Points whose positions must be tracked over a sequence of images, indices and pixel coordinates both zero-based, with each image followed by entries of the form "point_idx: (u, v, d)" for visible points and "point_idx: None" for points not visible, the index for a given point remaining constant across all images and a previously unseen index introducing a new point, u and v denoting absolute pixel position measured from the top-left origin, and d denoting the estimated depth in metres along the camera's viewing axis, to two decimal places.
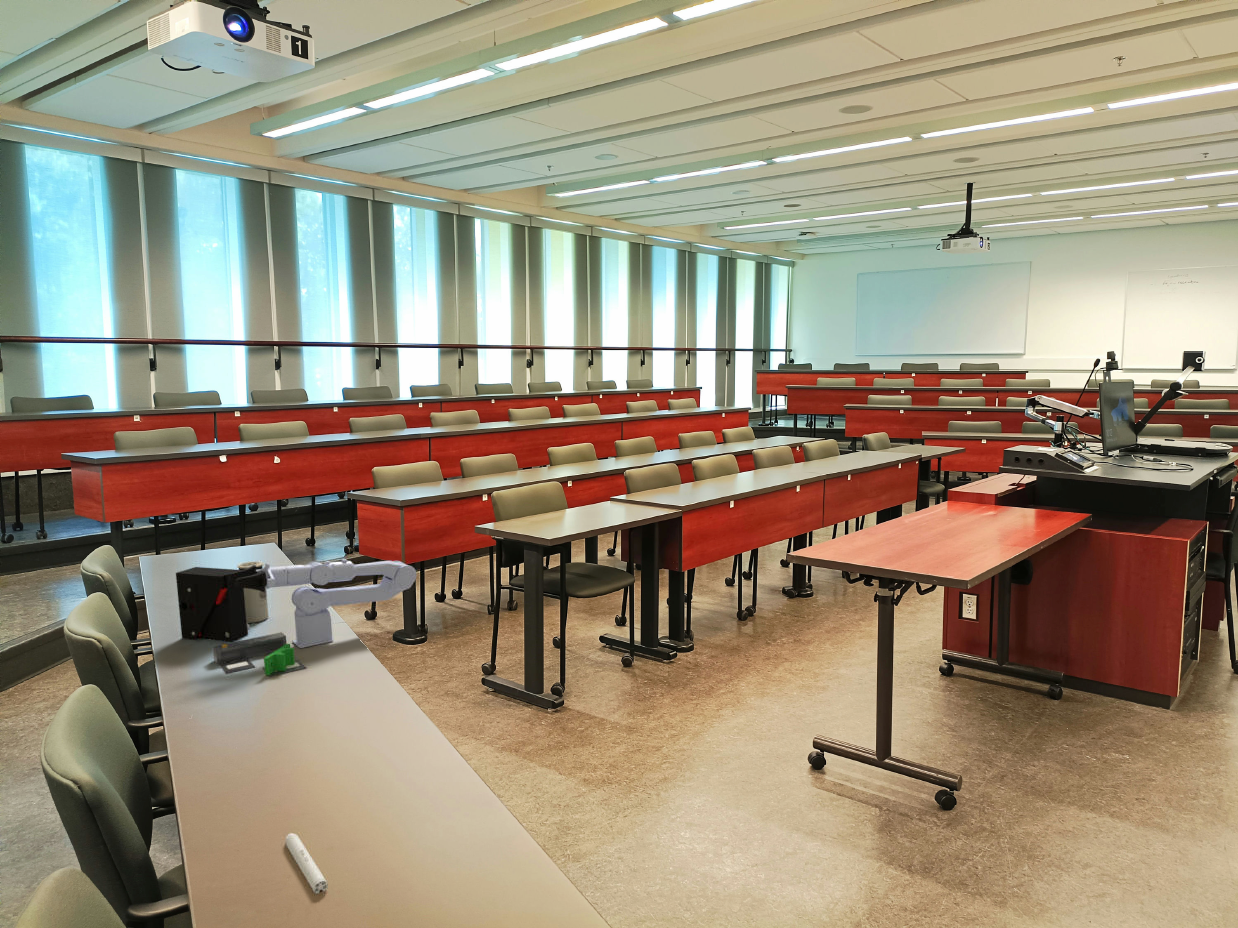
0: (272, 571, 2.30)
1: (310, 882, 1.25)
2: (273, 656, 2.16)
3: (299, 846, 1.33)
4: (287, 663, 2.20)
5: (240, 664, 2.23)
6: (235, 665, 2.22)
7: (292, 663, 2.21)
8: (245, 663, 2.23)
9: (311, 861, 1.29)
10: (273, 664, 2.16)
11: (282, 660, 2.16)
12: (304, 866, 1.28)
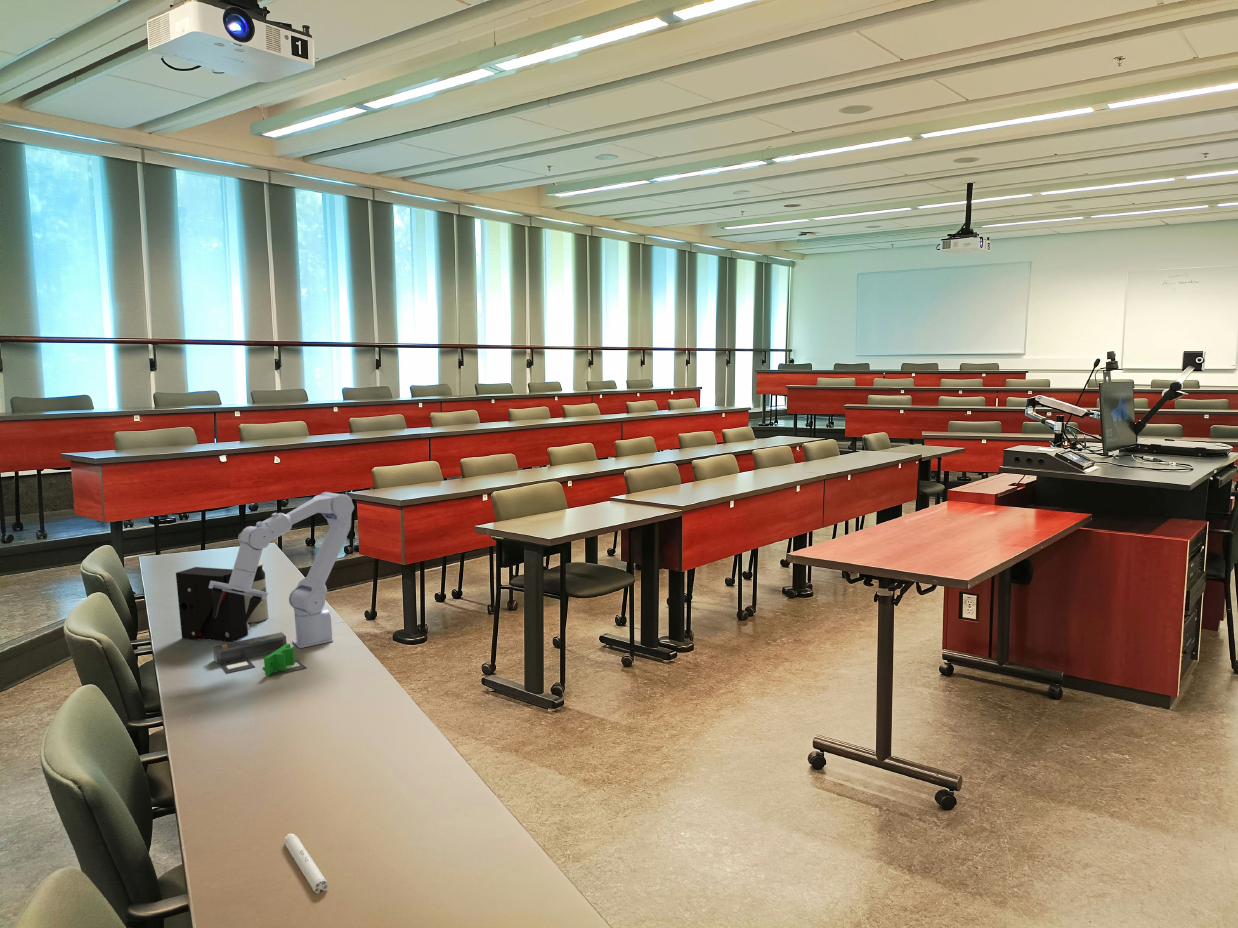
0: (246, 586, 2.22)
1: (310, 882, 1.25)
2: (273, 656, 2.16)
3: (298, 846, 1.33)
4: (287, 663, 2.20)
5: (240, 664, 2.23)
6: (235, 665, 2.22)
7: (292, 663, 2.21)
8: (245, 663, 2.23)
9: (311, 861, 1.29)
10: (273, 664, 2.16)
11: (282, 660, 2.16)
12: (304, 866, 1.28)
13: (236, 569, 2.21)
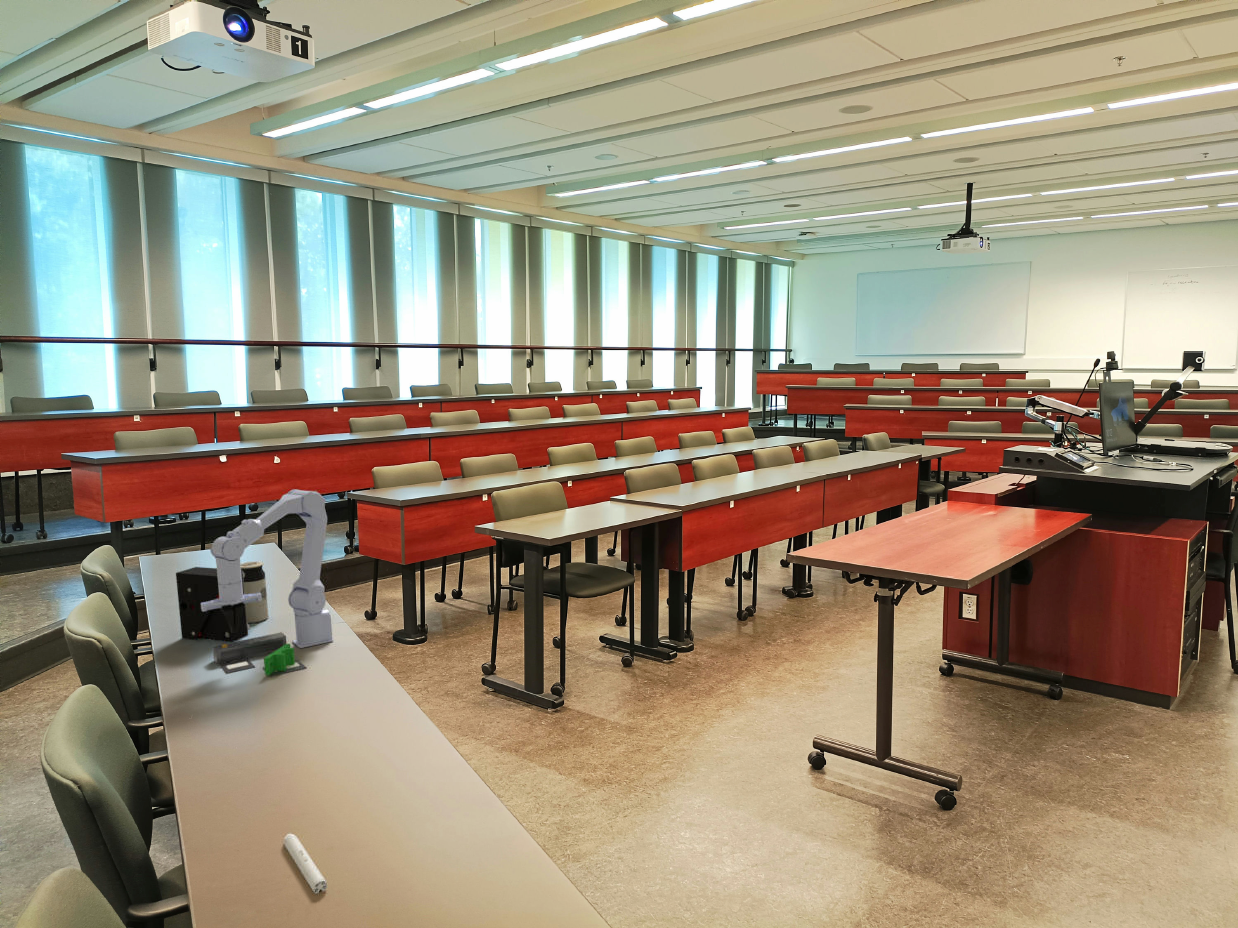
0: (241, 596, 2.19)
1: (309, 882, 1.25)
2: (273, 656, 2.16)
3: (298, 846, 1.33)
4: (287, 663, 2.20)
5: (240, 664, 2.23)
6: (235, 665, 2.22)
7: (292, 663, 2.21)
8: (245, 663, 2.23)
9: (310, 861, 1.29)
10: (273, 664, 2.16)
11: (282, 660, 2.16)
12: (303, 866, 1.28)
13: (224, 585, 2.16)
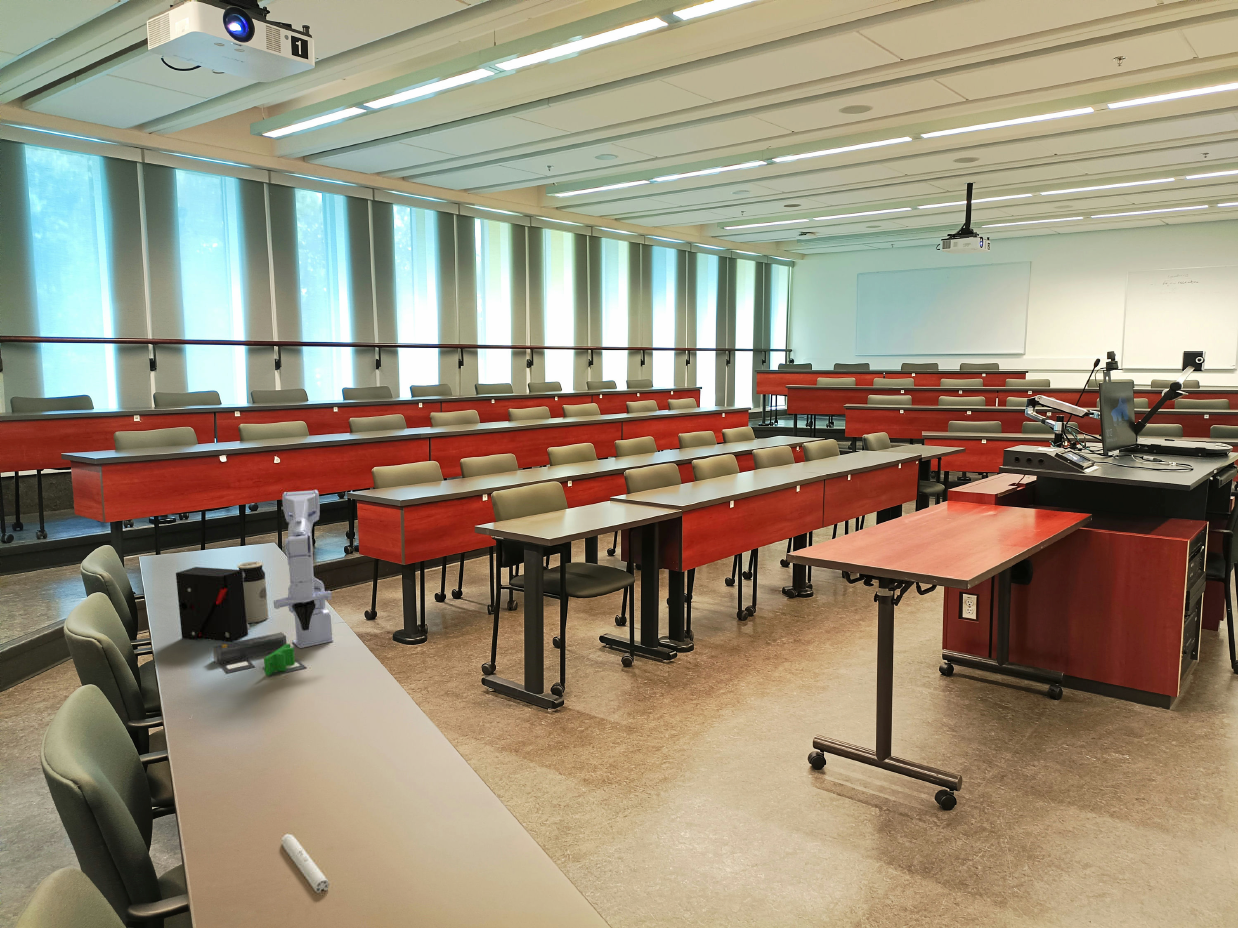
0: (312, 594, 2.22)
1: (311, 882, 1.25)
2: (273, 656, 2.16)
3: (297, 847, 1.33)
4: (287, 663, 2.20)
5: (240, 664, 2.23)
6: (235, 665, 2.22)
7: (292, 663, 2.21)
8: (245, 663, 2.23)
9: (310, 861, 1.29)
10: (273, 664, 2.16)
11: (282, 660, 2.16)
12: (304, 866, 1.28)
13: (297, 583, 2.19)
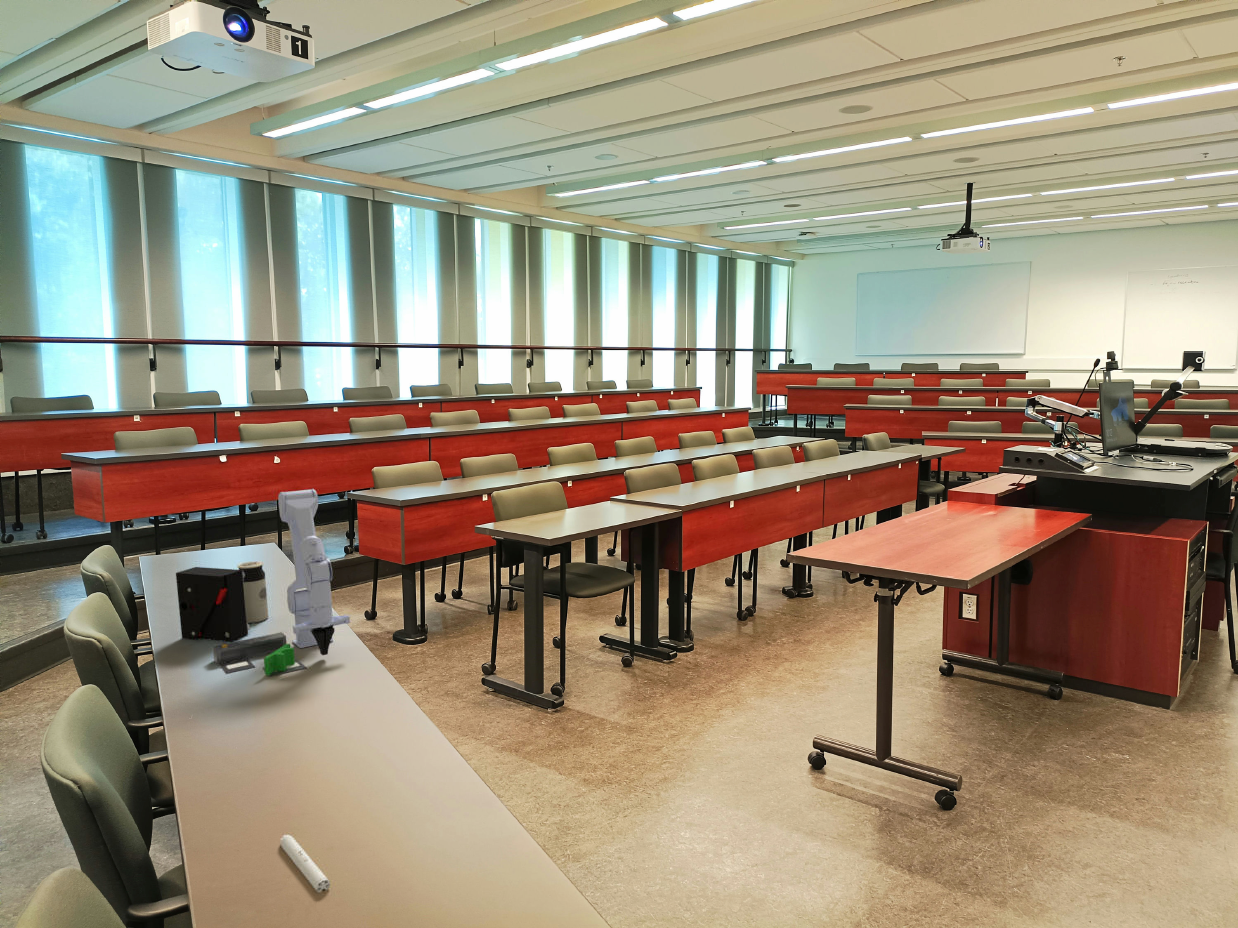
0: (331, 619, 2.24)
1: (312, 882, 1.25)
2: (273, 656, 2.16)
3: (296, 847, 1.33)
4: (287, 663, 2.20)
5: (240, 664, 2.23)
6: (235, 665, 2.22)
7: (292, 663, 2.21)
8: (245, 663, 2.23)
9: (311, 861, 1.29)
10: (273, 664, 2.16)
11: (282, 660, 2.16)
12: (304, 866, 1.28)
13: (316, 608, 2.21)
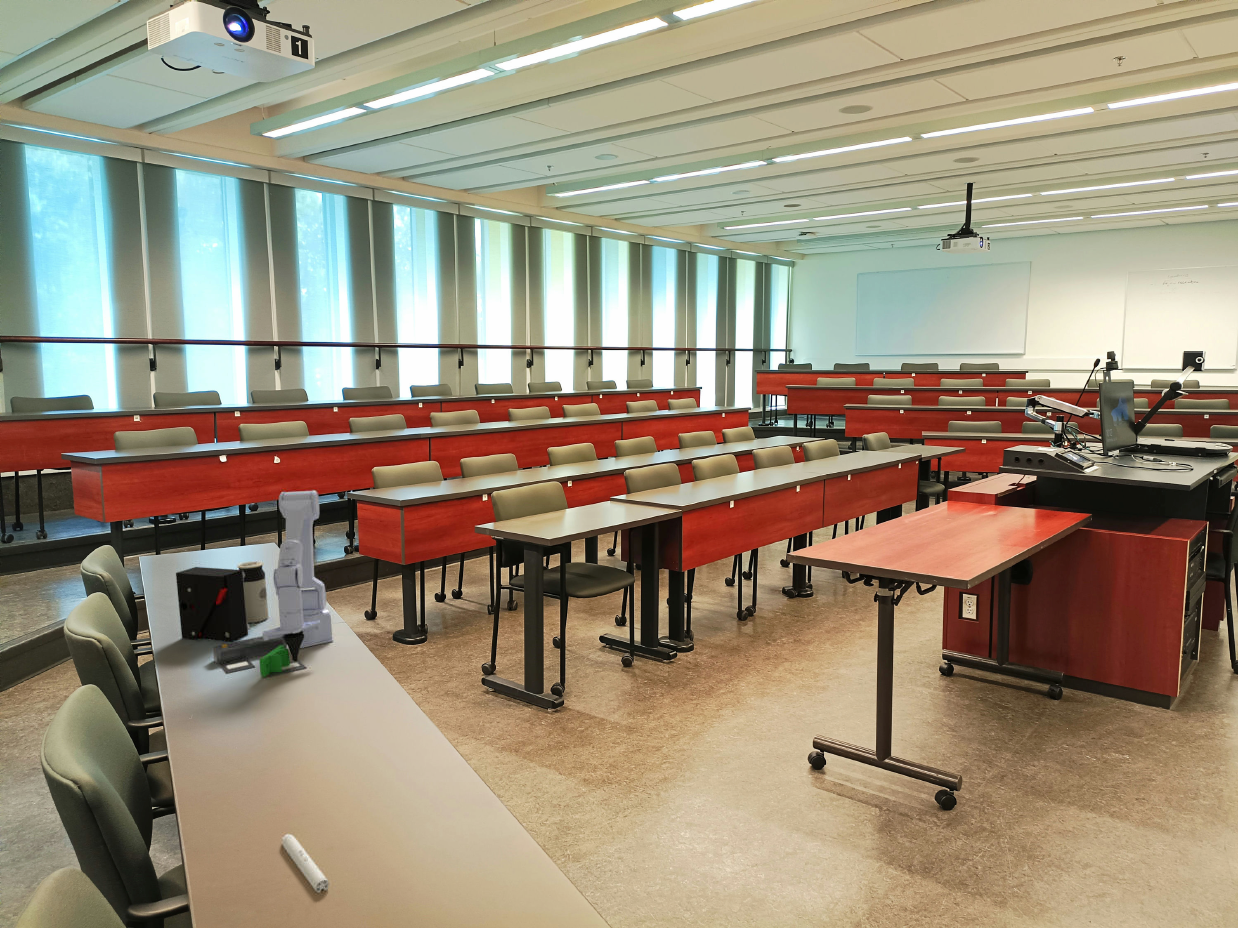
0: (301, 625, 2.19)
1: (311, 881, 1.25)
2: (268, 657, 2.15)
3: (297, 846, 1.33)
4: (282, 664, 2.19)
5: (240, 664, 2.23)
6: (235, 665, 2.22)
7: (287, 664, 2.20)
8: (245, 663, 2.23)
9: (311, 861, 1.29)
10: (269, 665, 2.15)
11: (278, 661, 2.15)
12: (304, 866, 1.28)
13: (286, 614, 2.16)
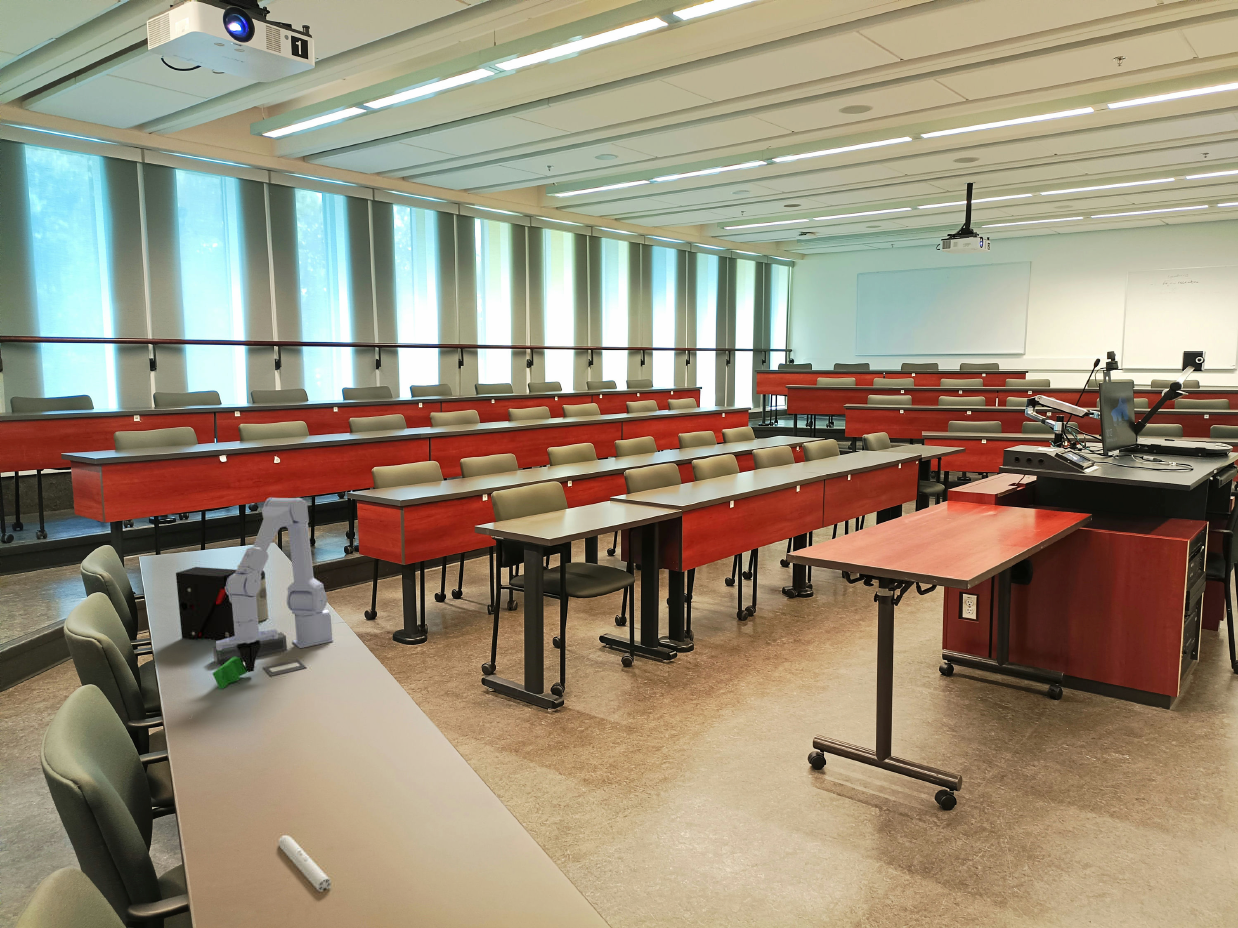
0: (257, 634, 2.13)
1: (313, 881, 1.25)
2: (222, 669, 2.08)
3: (295, 847, 1.33)
4: (239, 673, 2.13)
5: None
6: None
7: (244, 672, 2.14)
8: None
9: (311, 861, 1.29)
10: (224, 677, 2.08)
11: (232, 669, 2.09)
12: (304, 866, 1.28)
13: (240, 623, 2.10)
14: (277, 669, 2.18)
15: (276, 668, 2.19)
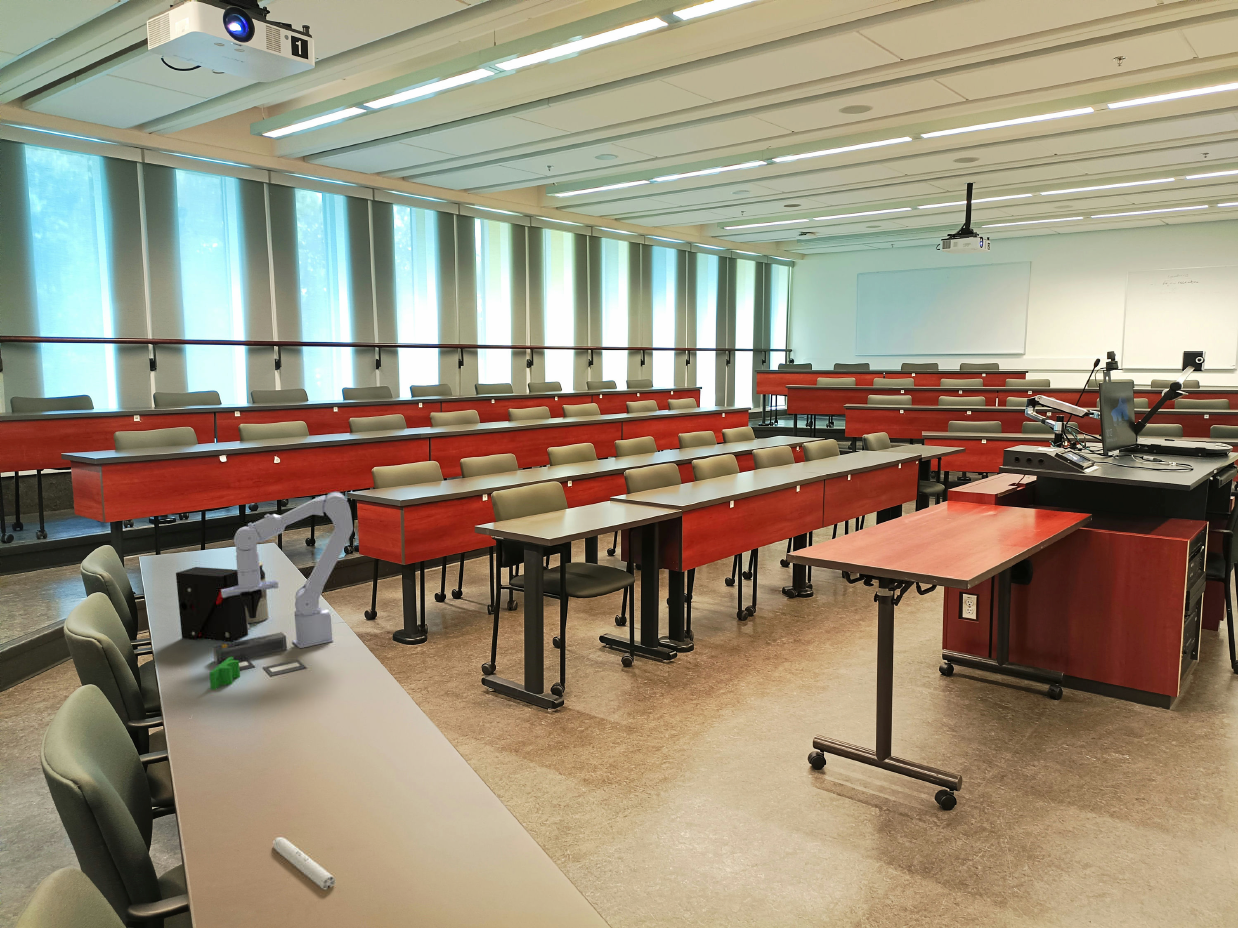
0: (258, 583, 2.32)
1: (316, 879, 1.26)
2: (219, 670, 2.08)
3: (293, 848, 1.33)
4: (232, 677, 2.13)
5: (240, 664, 2.23)
6: None
7: (237, 676, 2.14)
8: (245, 663, 2.23)
9: (311, 860, 1.30)
10: (219, 678, 2.08)
11: (229, 673, 2.09)
12: (305, 865, 1.29)
13: (243, 572, 2.29)
14: (277, 669, 2.18)
15: (276, 668, 2.19)
